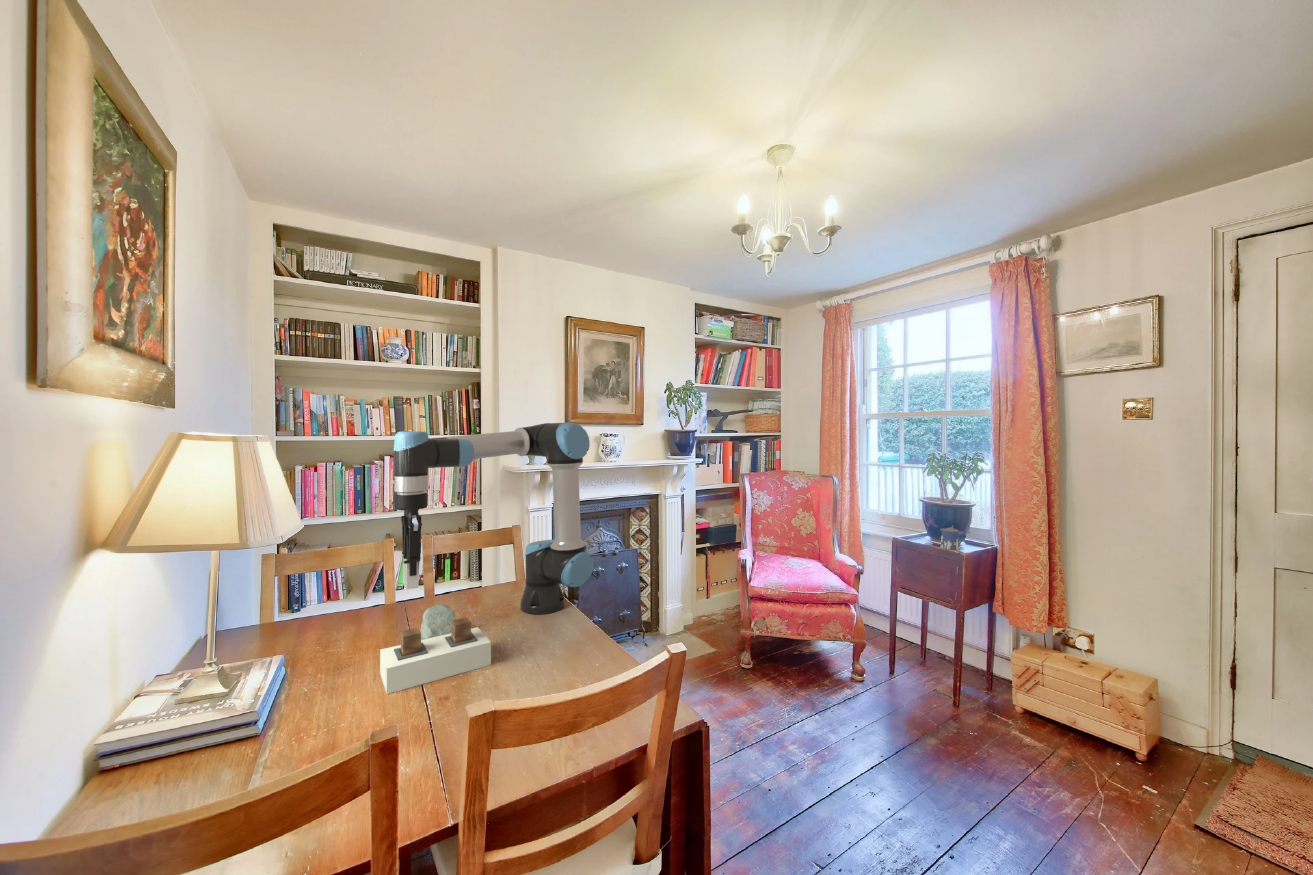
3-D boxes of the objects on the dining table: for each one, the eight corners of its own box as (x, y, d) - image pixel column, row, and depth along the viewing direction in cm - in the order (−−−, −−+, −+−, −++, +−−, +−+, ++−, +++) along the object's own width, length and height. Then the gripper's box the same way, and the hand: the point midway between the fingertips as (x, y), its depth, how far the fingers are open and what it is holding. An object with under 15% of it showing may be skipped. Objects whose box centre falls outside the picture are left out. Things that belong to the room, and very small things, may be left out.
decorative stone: (423, 631, 145) (410, 613, 139) (458, 614, 149) (447, 595, 143) (429, 667, 136) (416, 649, 130) (467, 647, 139) (456, 629, 133)
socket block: (477, 648, 134) (477, 625, 134) (490, 664, 124) (490, 640, 124) (380, 673, 120) (380, 647, 120) (386, 694, 110) (386, 666, 110)
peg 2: (466, 639, 128) (466, 617, 128) (470, 644, 125) (470, 621, 125) (451, 642, 126) (451, 620, 126) (454, 648, 123) (455, 625, 123)
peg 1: (418, 650, 121) (418, 627, 121) (421, 656, 118) (421, 632, 118) (400, 655, 119) (400, 631, 119) (403, 661, 116) (403, 636, 116)
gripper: (389, 490, 122) (389, 581, 122) (399, 497, 110) (399, 598, 110) (421, 488, 127) (421, 576, 127) (434, 494, 114) (433, 591, 114)
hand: (410, 586), depth 118 cm, fingers open, 3 cm apart
